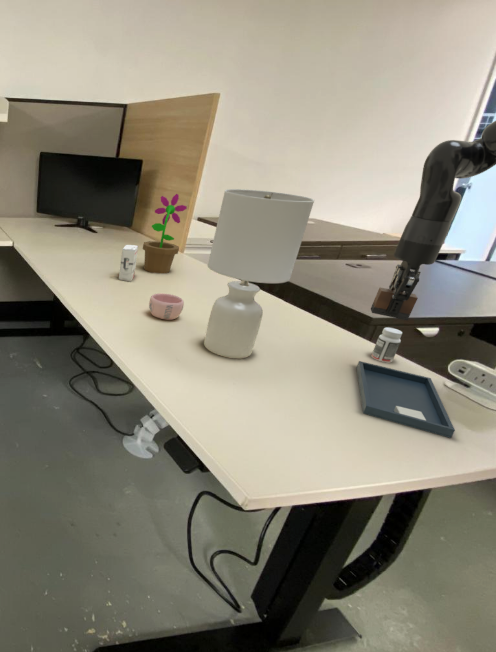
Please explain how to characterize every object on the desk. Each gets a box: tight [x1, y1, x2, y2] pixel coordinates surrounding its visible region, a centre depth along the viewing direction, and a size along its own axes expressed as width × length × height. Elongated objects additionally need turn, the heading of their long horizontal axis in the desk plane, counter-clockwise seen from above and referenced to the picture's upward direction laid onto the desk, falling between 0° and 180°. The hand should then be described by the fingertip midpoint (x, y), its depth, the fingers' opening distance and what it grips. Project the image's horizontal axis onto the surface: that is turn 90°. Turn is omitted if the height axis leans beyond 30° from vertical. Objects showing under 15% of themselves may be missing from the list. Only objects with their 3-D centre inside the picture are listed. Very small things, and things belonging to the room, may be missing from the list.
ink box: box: [118, 244, 139, 283], centre depth 175 cm, size 9×5×12 cm, turn 160°
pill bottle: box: [371, 327, 403, 364], centre depth 122 cm, size 5×5×8 cm
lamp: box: [203, 188, 315, 359], centre depth 114 cm, size 19×19×39 cm
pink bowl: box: [148, 292, 185, 320], centre depth 141 cm, size 12×10×6 cm
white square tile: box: [394, 406, 426, 420], centre depth 95 cm, size 4×4×1 cm
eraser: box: [370, 286, 418, 321], centre depth 109 cm, size 7×4×6 cm, turn 61°
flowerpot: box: [142, 193, 188, 274], centre depth 185 cm, size 14×14×30 cm
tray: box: [355, 360, 456, 439], centre depth 104 cm, size 26×15×2 cm, turn 150°
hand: (390, 311), depth 110 cm, fingers closed on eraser, 3 cm apart
